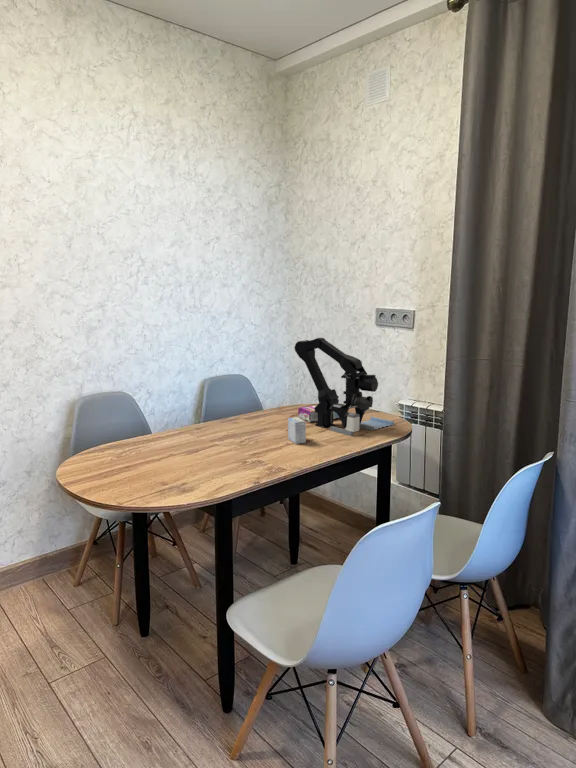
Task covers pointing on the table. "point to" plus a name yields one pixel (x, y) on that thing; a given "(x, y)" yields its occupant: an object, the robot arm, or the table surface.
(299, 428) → the medicine box
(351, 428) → the grey chamfered block
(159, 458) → the table surface
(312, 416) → the candy bar box
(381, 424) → the rail tray
